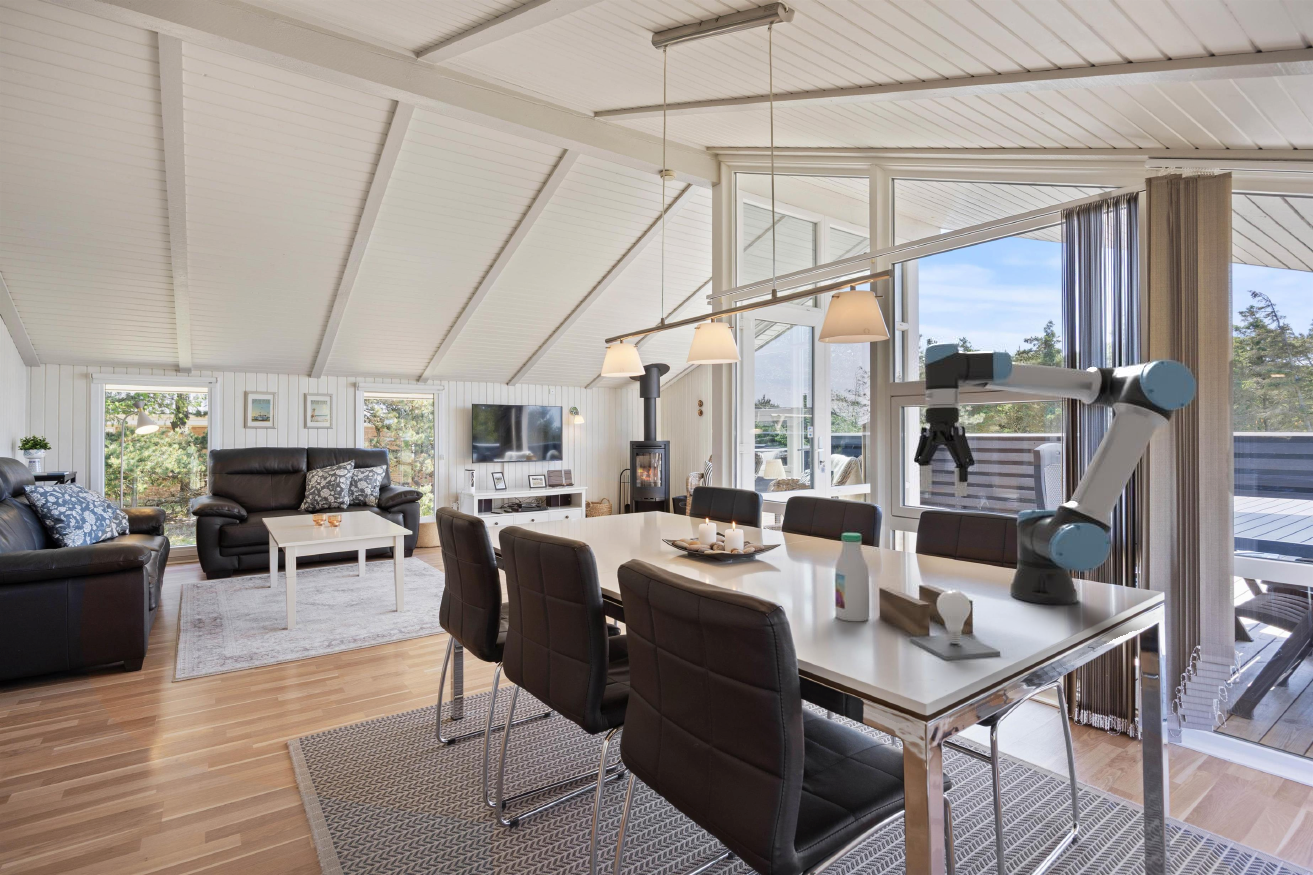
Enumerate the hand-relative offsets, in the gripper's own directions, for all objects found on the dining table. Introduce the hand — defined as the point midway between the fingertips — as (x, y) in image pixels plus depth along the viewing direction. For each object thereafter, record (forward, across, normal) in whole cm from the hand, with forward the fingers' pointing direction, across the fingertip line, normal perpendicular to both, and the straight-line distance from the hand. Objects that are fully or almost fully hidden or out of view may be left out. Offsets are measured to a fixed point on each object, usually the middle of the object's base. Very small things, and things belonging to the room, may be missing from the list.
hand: (942, 493), depth 163 cm
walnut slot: (+29, +10, -12) cm, 33 cm away
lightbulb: (+28, +26, -16) cm, 42 cm away
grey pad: (+29, +26, -16) cm, 42 cm away
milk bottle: (+29, +1, -25) cm, 38 cm away
